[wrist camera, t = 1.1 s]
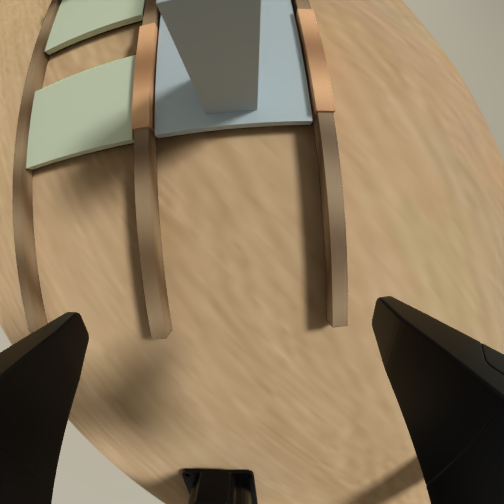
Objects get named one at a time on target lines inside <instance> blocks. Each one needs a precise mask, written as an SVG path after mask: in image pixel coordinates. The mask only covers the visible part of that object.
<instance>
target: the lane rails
mask: <svg viewBox="0 0 504 504" xmlns="http://www.w3.org/2000/svg"><path fill="white" fill-rule="evenodd" d="M61 2H62V0H52V2H51V4H50V6H49V9H48V11H47V14H46V16H45V19H44V22H43V24H42V27H41V30H40V33H39V36H38V39H37V42H36V45H35V48H34V51H33V55H32V58H31V62H30V66H29V69H28V73H27V77H26V82H25V86H24V91H23V96H22V101H21V107H20V112H19V119H18V126H17V134H16V143H15V154H14V169H13V225H14V240H15V251H16V260H17V268H18V275H19V282H20V288H21V294H22V299H23V304H24V309H25V314H26V319H27V323H28V327H29V331H30V332H35V331H36V330H38V329H40V328H41V327H43V326H45V325H46V324H47V320H46V315H45V310H44V305H43V300H42V295H41V289H40V283H39V276H38V269H37V261H36V252H35V242H34V229H33V207H32V176H33V170H31V169H26V161H27V147H28V136H29V128H30V120H31V113H32V106H33V100H34V95H35V91H37V90H40V89H42V85H43V80H44V75H45V71H46V67H47V63H48V59H49V55H48V54H47V53H46V52H45V48H46V45H47V41H48V38H49V35H50V32H51V29H52V26H53V23H54V20H55V17H56V15H57V12H58V9H59V7H60V4H61ZM291 3H292V7H293V11H294V16H295V21H296V26H297V31H298V35H299V40H300V46H301V51H302V56H303V62H304V67H305V73H306V79H307V85H308V91H309V98H310V105H311V112H312V119H313V125H314V133H315V141H316V149H317V158H318V168H319V178H320V189H321V200H322V213H323V228H324V245H325V266H326V299H327V321H328V322H329V323H330V325H331V326H332V327H333V328H334V327H342V326H348V275H347V246H346V227H345V212H344V199H343V188H342V177H341V168H340V159H339V151H338V143H337V135H336V128H335V122H334V115H333V113H334V112H335V106H334V100H333V94H332V89H331V83H330V78H329V73H328V68H327V63H326V59H325V54H324V50H323V45H322V41H321V37H320V33H319V29H318V25H317V21H316V17H315V13H314V10H313V9H311V7H310V3H309V0H291ZM160 17H161V13H160V11H159V9H158V7H157V4H156V0H146V4H145V10H144V16H143V23H142V26H140V28H139V36H138V43H137V52H136V61H135V72H134V85H133V101H132V128H131V129H132V130H133V131H134V183H135V205H136V220H137V233H138V244H139V254H140V264H141V272H142V280H143V288H144V295H145V302H146V308H147V314H148V320H149V326H150V332H151V337H152V339H166V338H167V336H168V335H169V334H170V332H171V331H172V325H171V319H170V312H169V305H168V298H167V290H166V282H165V274H164V265H163V255H162V245H161V233H160V221H159V206H158V189H157V163H156V136H155V84H156V64H157V49H158V37H159V27H160Z"/></svg>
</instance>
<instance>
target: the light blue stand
mask: <svg viewBox="0 0 504 504" xmlns="http://www.w3.org/2000/svg"><path fill="white" fill-rule="evenodd" d="M156 4H157V7H158V9H159V11H160V13H161V17H160V27H159V37H158V49H157V64H156V84H155V136H156V137H157V138H163V137H170V136H176V135H183V134H190V133H198V132H206V131H215V130H224V129H235V128H247V127H263V126H284V125H311V123H312V121H313V119H312V112H311V105H310V98H309V91H308V85H307V79H306V73H305V67H304V62H303V56H302V51H301V46H300V40H299V35H298V31H297V26H296V21H295V17H294V12H293V8H292V3H291V0H156Z"/></svg>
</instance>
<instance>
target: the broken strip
mask: <svg viewBox="0 0 504 504" xmlns="http://www.w3.org/2000/svg"><path fill="white" fill-rule="evenodd" d="M145 4H146V0H62V2H61V4H60V7H59V9H58V12H57V15H56V17H55V20H54V23H53V26H52V29H51V32H50V35H49V38H48V41H47V45H46V48H45V52H46V53H47V54H48V55H50V54H52V53H54V52H56V51H58V50H60V49H63V48H65V47H67V46H69V45H72V44H74V43H76V42H79V41H81V40H84V39H86V38H89V37H92V36H94V35H97V34H100V33H103V32H105V31H108V30H111V29H114V28H117V27H121V26H124V25H127V24H131V23H134V22H138V21H142V20H143V16H144V10H145ZM135 61H136V55H133V56H129V57H126V58H122V59H119V60H115V61H112V62H109V63H106V64H102V65H99V66H96V67H94V68H91V69H88V70H85V71H82V72H80V73H77V74H74V75H72V76H69V77H67V78H64V79H62V80H60V81H57V82H55V83H53V84H50V85H48V86H46V87H44V88H42V89H40V90H37V91H35V95H34V100H33V106H32V113H31V120H30V128H29V136H28V147H27V161H26V169H31V170H33V169H36V168H39V167H42V166H45V165H48V164H51V163H55V162H58V161H61V160H65V159H68V158H72V157H76V156H79V155H83V154H87V153H91V152H95V151H99V150H103V149H108V148H112V147H116V146H121V145H126V144H131V143H134V131H133V130H132V129H131V128H132V101H133V85H134V72H135Z"/></svg>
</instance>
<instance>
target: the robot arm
mask: <svg viewBox="0 0 504 504" xmlns="http://www.w3.org/2000/svg"><path fill="white" fill-rule="evenodd" d="M372 327H373V331H374V334H375V337H376V340H377V344H378V347H379V350H380V354H381V357H382V361H383V364H384V367H385V370H386V373H387V376H388V378H389V380H390V383H391V385H392V388H393V390H394V393H395V396H396V398H397V401H398V403H399V406H400V409H401V411H402V414H403V417H404V419H405V422H406V425H407V428H408V431H409V433H410V436H411V439H412V442H413V445H414V448H415V451H416V454H417V457H418V460H419V463H420V466H421V470H422V473H423V476H424V479H425V483H426V487H427V490H428V494H429V497H430V501H431V504H504V354H502V353H500V352H498V351H496V350H494V349H492V348H490V347H488V346H486V345H484V344H481V343H480V342H479V341H477V340H475V339H473V338H471V337H469V336H467V335H465V334H464V333H462V332H460V331H458V330H456V329H454V328H452V327H450V326H448V325H446V324H444V323H442V322H440V321H439V320H437V319H435V318H433V317H431V316H429V315H427V314H425V313H423V312H421V311H419V310H417V309H415V308H413V307H411V306H409V305H407V304H405V303H403V302H401V301H399V300H397V299H395V298H393V297H391V296H387V297H380V298H378V299H377V301H376V305H375V310H374V314H373V319H372ZM88 340H89V335H88V332H87V329H86V327H85V325H84V322H83V320H82V317H81V315H80V314H79V313H77V312H67V313H65V314H63V315H62V316H60V317H58V318H57V319H55V320H53V321H52V322H50V323H48V324H46V325H45V326H43V327H41V328H40V329H38V330H36V331H35V332H33V333H31V334H30V335H28V336H27V337H25V338H23V339H22V340H20V341H18V342H17V343H15V344H14V345H12V346H10V347H9V348H7V349H6V350H4V351H3V352H1V353H0V504H51V501H52V493H53V487H54V480H55V475H56V469H57V464H58V459H59V454H60V450H61V445H62V441H63V437H64V432H65V429H66V425H67V421H68V417H69V414H70V410H71V406H72V403H73V399H74V396H75V393H76V389H77V386H78V383H79V379H80V375H81V371H82V366H83V362H84V357H85V353H86V349H87V345H88ZM182 476H183V478H184V481H185V484H186V486H187V489H188V491H189V494H190V497H189V501H188V504H258V502H257V495H256V488H255V480H254V473H253V472H252V471H249V470H244V471H214V470H192V469H185V470H183V472H182Z"/></svg>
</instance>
